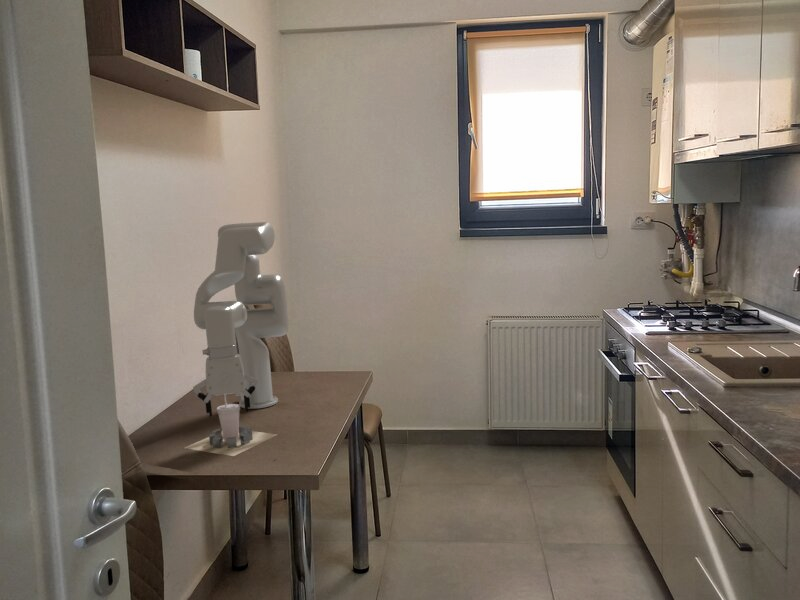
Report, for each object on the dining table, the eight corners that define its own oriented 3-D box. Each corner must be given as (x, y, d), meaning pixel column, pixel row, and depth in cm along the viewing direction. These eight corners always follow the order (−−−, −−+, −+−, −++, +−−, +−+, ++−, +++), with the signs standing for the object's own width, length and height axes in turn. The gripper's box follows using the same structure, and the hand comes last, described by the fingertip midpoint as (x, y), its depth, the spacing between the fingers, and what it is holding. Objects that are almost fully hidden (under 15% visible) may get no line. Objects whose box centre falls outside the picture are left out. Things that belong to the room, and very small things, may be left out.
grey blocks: (201, 445, 203) (200, 436, 203) (230, 432, 213) (229, 424, 212) (232, 450, 197) (231, 441, 197) (261, 436, 207) (260, 428, 207)
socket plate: (183, 453, 202) (183, 448, 202) (229, 432, 217) (229, 427, 217) (234, 461, 193) (233, 456, 193) (278, 439, 208) (277, 434, 208)
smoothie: (221, 438, 208) (216, 389, 206) (244, 436, 209) (240, 387, 207) (218, 445, 202) (212, 395, 200) (241, 443, 202) (237, 393, 200)
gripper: (189, 358, 196) (196, 421, 198) (256, 350, 200) (261, 412, 203) (189, 352, 203) (196, 413, 206) (253, 345, 207) (259, 404, 210)
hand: (228, 412), depth 204 cm, fingers open, 9 cm apart
